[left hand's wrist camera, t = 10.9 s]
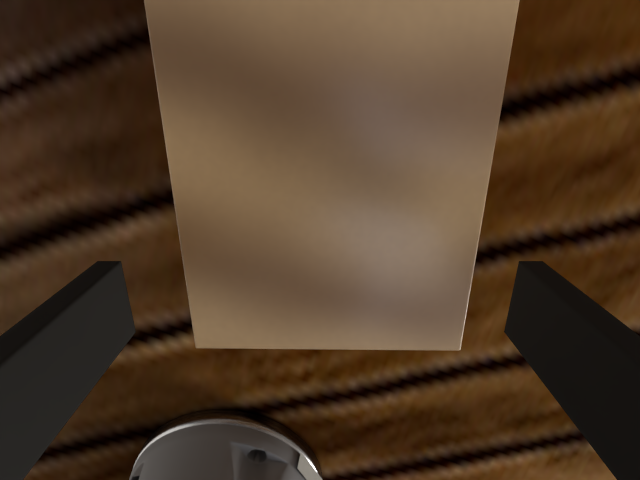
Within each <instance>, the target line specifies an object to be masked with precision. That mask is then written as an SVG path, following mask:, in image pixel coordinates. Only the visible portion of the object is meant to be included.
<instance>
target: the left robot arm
mask: <svg viewBox="0 0 640 480" xmlns="http://www.w3.org/2000/svg"><path fill="white" fill-rule="evenodd" d="M135 332H136V331H135V326H134V321H133V317H132V312H131V307H130V302H129V298H128V293H127V288H126V283H125V279H124V274H123V269H122V264H121V261H97V262H96V263H95V264H93V265H92V266H91V267H90V268H88V269H87V270H86V271H84V272H83V273H82V274H80V275H79V276H78V277H77V278H75V279H74V280H73V281H71V282H70V283H69V284H67V285H66V286H65V287H64V288H62V289H61V290H60V291H58V292H57V293H56V294H54V295H53V296H52V297H51V298H49V299H48V300H47V301H45V302H44V303H43V304H41V305H40V306H39V307H38V308H36V309H35V310H34V311H32V312H31V313H30V314H28V315H27V316H26V317H25V318H23V319H22V320H21V321H19V322H18V323H17V324H15V325H14V326H13V327H12V328H10V329H9V330H8V331H6V332H5V333H4V334H2V335H1V336H0V480H23V479H24V478H25V476H26V475H27V474H28V472H29V471H30V470H31V468H32V467H33V466H34V464H35V463H36V462H37V460H38V459H39V458H40V457H41V455H42V454H43V453H44V451H45V450H46V449H47V447H48V446H49V445H50V443H51V442H52V441H53V440H54V438H55V437H56V436H57V434H58V433H59V432H60V430H61V429H62V428H63V426H64V425H65V424H66V422H67V421H68V420H69V419H70V417H71V416H72V415H73V413H74V412H75V411H76V409H77V408H78V407H79V405H80V404H81V403H82V401H83V400H84V399H85V398H86V396H87V395H88V394H89V392H90V391H91V390H92V388H93V387H94V386H95V384H96V383H97V382H98V381H99V379H100V378H101V377H102V375H103V374H104V373H105V371H106V370H107V369H108V367H109V366H110V365H111V363H112V362H113V361H114V360H115V358H116V357H117V356H118V354H119V353H120V352H121V350H122V349H123V348H124V346H125V345H126V344H127V342H128V341H129V340H130V339H131V337H132V336H133V335H134V333H135ZM504 332H505V333H506V335H507V336H508V337H509V339H510V340H511V341H512V342H513V344H514V345H515V346H516V348H517V349H518V350H519V352H520V353H521V354H522V356H523V357H524V358H525V360H526V361H527V362H528V363H529V365H530V366H531V367H532V369H533V370H534V371H535V373H536V374H537V375H538V377H539V378H540V379H541V381H542V382H543V383H544V384H545V386H546V387H547V388H548V390H549V391H550V392H551V394H552V395H553V396H554V398H555V399H556V400H557V401H558V403H559V404H560V405H561V407H562V408H563V409H564V411H565V412H566V413H567V415H568V416H569V417H570V419H571V420H572V421H573V422H574V424H575V425H576V426H577V428H578V429H579V430H580V432H581V433H582V434H583V436H584V437H585V438H586V440H587V441H588V442H589V443H590V445H591V446H592V447H593V449H594V450H595V451H596V453H597V454H598V455H599V457H600V458H601V459H602V460H603V462H604V463H605V464H606V466H607V467H608V468H609V470H610V471H611V472H612V474H613V475H614V476H615V478H616V479H617V480H640V336H639V335H637V334H636V333H635V332H634V331H632V330H631V329H630V328H628V327H627V326H626V325H625V324H623V323H622V322H621V321H619V320H618V319H617V318H615V317H614V316H613V315H612V314H610V313H609V312H608V311H606V310H605V309H604V308H602V307H601V306H600V305H599V304H597V303H596V302H595V301H593V300H592V299H591V298H589V297H588V296H587V295H586V294H584V293H583V292H582V291H580V290H579V289H578V288H576V287H575V286H574V285H573V284H571V283H570V282H569V281H567V280H566V279H565V278H563V277H562V276H561V275H560V274H558V273H557V272H556V271H554V270H553V269H552V268H550V267H549V266H548V265H547V264H545V263H544V262H543V261H519V264H518V269H517V274H516V279H515V283H514V288H513V293H512V298H511V302H510V307H509V312H508V317H507V321H506V326H505V331H504ZM129 480H322V472H321V468H320V465H319V462H318V460H317V458H316V456H315V454H314V453H313V451H312V450H311V449H310V447H309V446H308V445H307V444H306V443H305V442H304V441H303V440H302V439H301V438H300V437H299V436H298V435H296V434H295V433H294V432H292V431H291V430H289V429H288V428H286V427H285V426H283V425H281V424H279V423H277V422H275V421H272V420H270V419H268V418H265V417H262V416H259V415H255V414H251V413H247V412H241V411H233V410H208V411H200V412H195V413H191V414H187V415H184V416H181V417H178V418H176V419H174V420H172V421H170V422H168V423H166V424H164V425H163V426H161V427H160V428H159V429H157V430H156V431H155V432H154V433H153V434H152V435H151V436H150V437H149V438H148V440H147V441H146V442H145V444H144V446H143V448H142V450H141V452H140V454H139V456H138V458H137V460H136V462H135V464H134V467H133V470H132V473H131V476H130V479H129Z"/></svg>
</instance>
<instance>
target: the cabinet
mask: <svg viewBox="0 0 640 480" xmlns="http://www.w3.org/2000/svg"><path fill="white" fill-rule="evenodd" d="M144 3H145V10H146V17H147V23H148V30H149V37H150V44H151V50H152V57H153V64H154V70H155V77H156V84H157V91H158V97H159V104H160V111H161V118H162V124H163V131H164V138H165V144H166V151H167V158H168V165H169V171H170V178H171V185H172V192H173V198H174V205H175V212H176V218H177V225H178V232H179V239H180V245H181V252H182V259H183V266H184V272H185V279H186V286H187V292H188V299H189V306H190V313H191V319H192V326H193V333H194V340H195V346H196V348H244V349H357V350H460V348H461V342H462V336H463V330H464V324H465V318H466V313H467V307H468V301H469V295H470V289H471V283H472V277H473V271H474V265H475V259H476V254H477V248H478V242H479V236H480V230H481V224H482V218H483V212H484V206H485V200H486V195H487V189H488V183H489V177H490V171H491V165H492V159H493V153H494V147H495V142H496V136H497V130H498V124H499V118H500V112H501V106H502V100H503V94H504V88H505V83H506V77H507V71H508V65H509V59H510V53H511V47H512V41H513V35H514V29H515V24H516V18H517V12H518V6H519V0H144Z"/></svg>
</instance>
